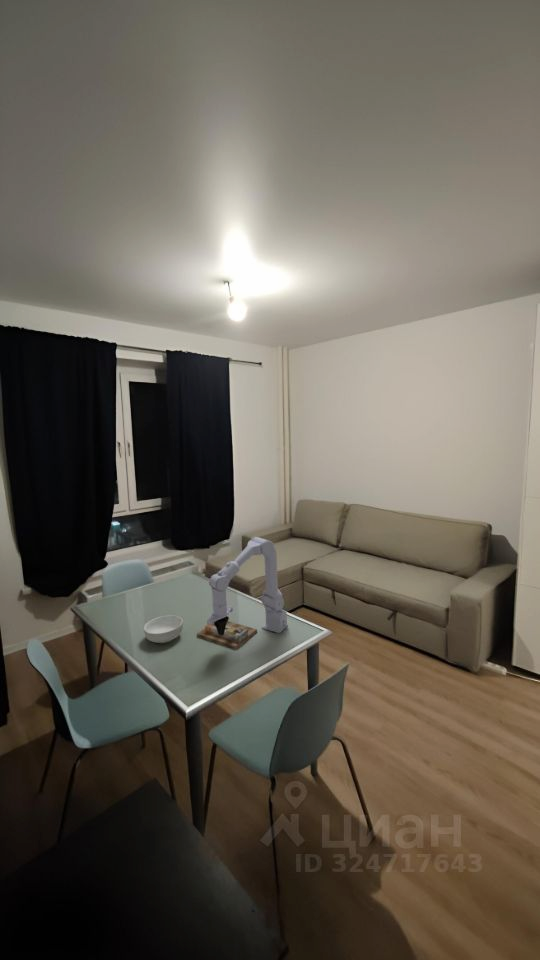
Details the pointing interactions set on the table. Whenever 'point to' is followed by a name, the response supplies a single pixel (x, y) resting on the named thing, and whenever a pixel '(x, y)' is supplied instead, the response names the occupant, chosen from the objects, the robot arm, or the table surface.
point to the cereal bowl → (163, 628)
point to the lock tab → (231, 630)
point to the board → (225, 641)
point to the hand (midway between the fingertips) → (221, 634)
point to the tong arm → (233, 627)
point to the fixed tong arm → (227, 634)
